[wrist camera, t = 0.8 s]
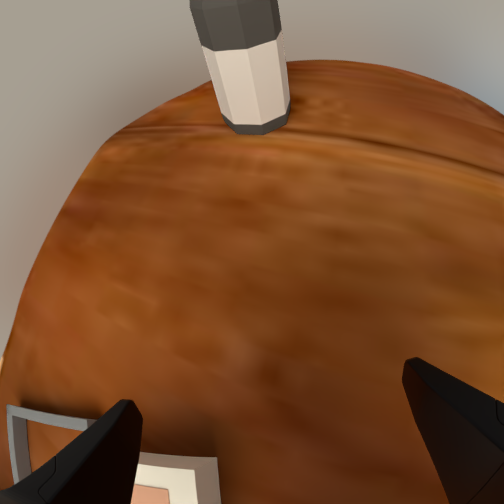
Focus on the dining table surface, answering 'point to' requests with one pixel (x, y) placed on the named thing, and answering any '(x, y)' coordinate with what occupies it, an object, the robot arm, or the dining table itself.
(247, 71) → the wine bottle
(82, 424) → the frame
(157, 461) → the carton
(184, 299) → the dining table surface
